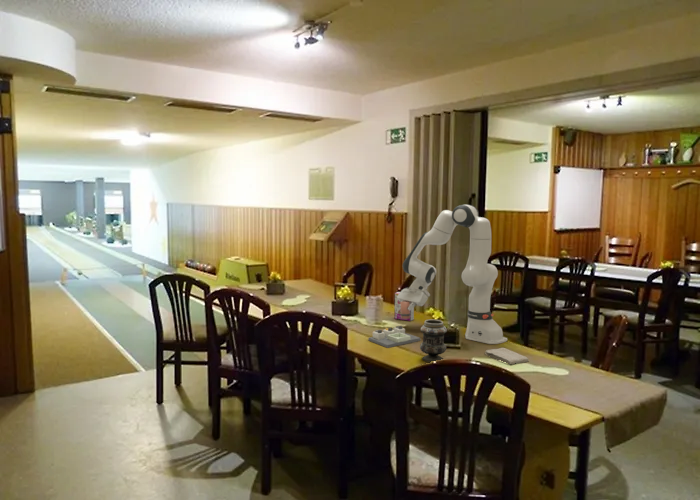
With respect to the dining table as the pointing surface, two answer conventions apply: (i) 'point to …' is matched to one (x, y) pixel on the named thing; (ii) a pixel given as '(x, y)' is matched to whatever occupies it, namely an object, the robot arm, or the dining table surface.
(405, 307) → the lockout cap
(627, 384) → the dining table surface
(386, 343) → the board
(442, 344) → the apothecary jar
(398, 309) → the candy bar box
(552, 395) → the dining table surface
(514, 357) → the washcloth
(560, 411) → the dining table surface
